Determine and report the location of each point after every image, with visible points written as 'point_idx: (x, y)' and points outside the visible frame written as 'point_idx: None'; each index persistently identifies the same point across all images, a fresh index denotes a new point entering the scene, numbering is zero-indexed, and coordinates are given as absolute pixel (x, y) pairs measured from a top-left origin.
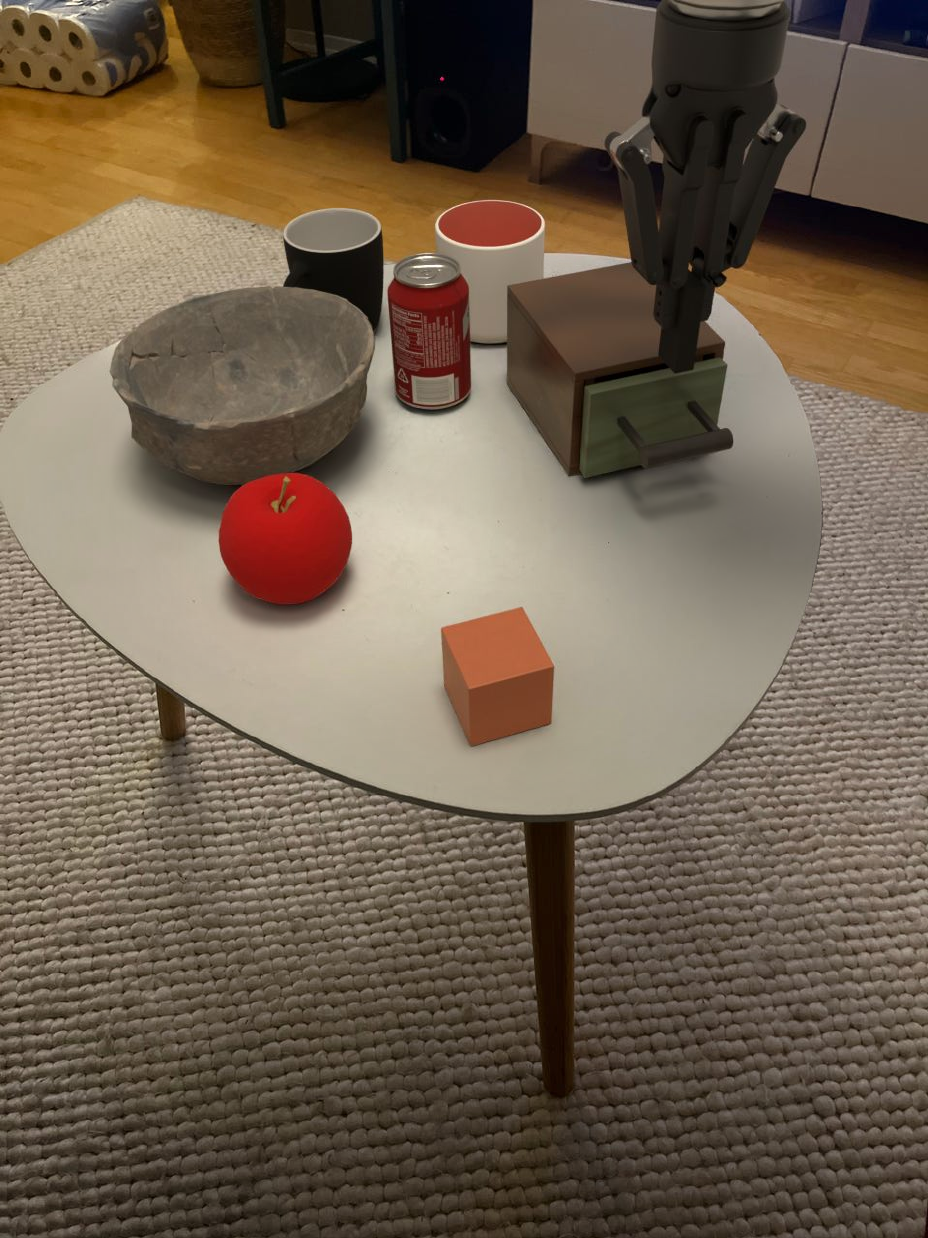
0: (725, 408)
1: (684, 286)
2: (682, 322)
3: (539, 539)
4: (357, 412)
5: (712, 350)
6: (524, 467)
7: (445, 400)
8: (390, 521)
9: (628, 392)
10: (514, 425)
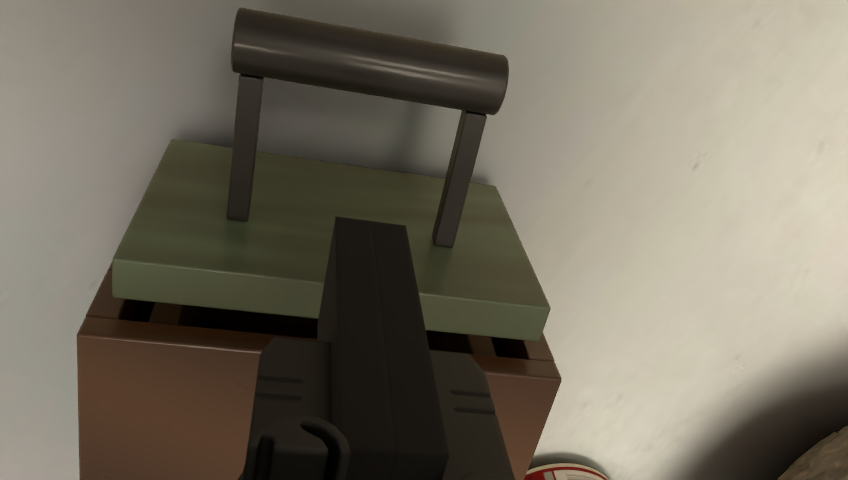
0: (44, 258)
1: (433, 478)
2: (424, 342)
3: (672, 80)
4: (844, 475)
5: (127, 325)
6: (548, 277)
7: (573, 474)
8: (836, 255)
9: (437, 283)
10: None
